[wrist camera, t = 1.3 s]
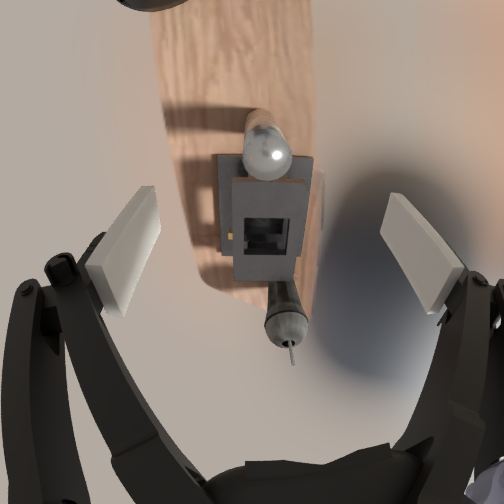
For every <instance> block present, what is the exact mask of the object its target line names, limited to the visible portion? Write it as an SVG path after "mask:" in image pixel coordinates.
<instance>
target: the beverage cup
mask: <svg viewBox="0 0 504 504" xmlns="http://www.w3.org/2000/svg"><path fill="white" fill-rule="evenodd" d="M264 327H265V330H266V333H267V335H268V337H269V339H270V341H271V342H272V343H274V344H275V345H276V346H278V347H281V348H289V351H290V357H291V364H292V366H294V365H295V361H294V355H293V349H292V347H295V346H297V345H298V344H299V343H301V342H302V340H303V339H304V338H305V336H306V333H307V328H308V319H307V317H306V315H305V312H304V310H303V308H302V306H301V302H300V299H299V296H298V292H297V289H296V286H295V282H294V279H293V281H269V287H268V309H267V314H266V321H265V325H264Z"/></svg>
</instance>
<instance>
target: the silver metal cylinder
mask: <svg viewBox="0 0 504 504" xmlns="http://www.w3.org/2000/svg"><path fill="white" fill-rule="evenodd" d="M291 163H292V152H291V149H290V147H289V145H288V143H287V141H286V139H285V138H284V136H283V134H282V132H281V130H280V128H279V127H278V125H277V123H276V121H275V120H274V118H273V116H272V114H271V113H270V112H269V111H267V110H265V109H255V110H253V111H251V112H250V113H249V114H248V115H247V117H246V123H245V134H244V146H243V164H244V167H245V169H246V170H247V172H248V173H249V174H250V175H252V176H253V177H255V178H257V179H259V180H264V181H270V180H275V179H278V178H280V177H282V176H283V175H284V174H285V173H286V172H287V171H288V170H289V168H290V166H291Z"/></svg>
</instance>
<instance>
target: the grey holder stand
mask: <svg viewBox="0 0 504 504" xmlns="http://www.w3.org/2000/svg"><path fill="white" fill-rule="evenodd" d="M313 160H314V159H313V157H305V156H292V163H291V166H290V168H289V170H288V171H287V172H286V173H285V174H284V175H283V176H282V177H280V178H278V179H275V180H270V181H264V180H259V179H257V178H255V177H253V176H252V175H250V174H249V173H248V172H247V170H246V169H245V167H244V164H243V154H218V156H217V163H218V191H219V214H220V234H221V252H222V256H233V268H234V281H293V275H294V268H295V262H296V257H301V251H302V244H303V238H304V231H305V224H306V217H307V209H308V202H309V194H310V186H311V178H312V169H313Z"/></svg>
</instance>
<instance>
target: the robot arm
mask: <svg viewBox="0 0 504 504" xmlns="http://www.w3.org/2000/svg"><path fill="white" fill-rule="evenodd" d="M117 1H118V2H119V3H121V4H122V5H124V6H126V7H129V8H131V9H134V10H138V11H145V12H152V11H161V10H165V9H169V8H172V7H175V6H177V5H180V4H182V3H184V2H186V1H188V0H117ZM160 231H161V224H160V219H159V213H158V207H157V201H156V195H155V188H154V186H141V188H140V189H139V190H138V191H137V193H136V194H135V195H134V196H133V197H132V199H131V200H130V201H129V203H128V204H127V205H126V206H125V208H124V209H123V210H122V212H121V213H120V214H119V216H118V217H117V218H116V220H115V221H114V223H113V224H112V225H111V227H110V228H109V229H108V231H107V232H102V233H100V234H99V235H98V236H96V237H95V238H94V239H93V241H92V242H91V243H90V245H89V247H88V248H87V249H86V251H85V253H84V254H83V255H82V257H81V258H80V259H79V261H78V263H77V264H76V262H75V260H74V257H73V256H72V254H70V253H60V254H58V255H56V256H54V257H52V258H51V259H50V260H49V261H48V262H47V264H46V265H45V268H44V271H45V273H46V275H47V277H48V279H49V281H50V283H51V285H50V286H45V287H41V286H40V284H39V283H38V281H37V280H36V279H29V280H26V281H24V282H23V283H21V284H20V286H19V287H18V288H17V290H16V292H15V296H14V300H13V304H12V309H11V313H10V318H9V324H8V329H7V336H6V342H5V350H4V358H3V369H2V385H1V419H2V420H1V422H2V438H3V448H4V456H5V462H6V469H7V475H8V480H9V486H8V504H91V502H90V497H89V492H88V489H87V485H86V481H85V478H84V475H83V471H82V467H81V463H80V459H79V455H78V451H77V447H76V442H75V437H74V432H73V426H72V421H71V414H70V408H69V400H68V391H67V380H66V366H65V342H66V346H67V349H68V352H69V355H70V359H71V362H72V365H73V367H74V371H75V373H76V376H77V379H78V382H79V384H80V387H81V389H82V392H83V394H84V397H85V399H86V402H87V404H88V406H89V409H90V411H91V413H92V415H93V417H94V420H95V422H96V424H97V426H98V428H99V430H100V432H101V434H102V436H103V438H104V440H105V442H106V444H107V445H108V447H109V449H110V451H111V454H112V458H111V464H112V467H113V469H114V471H115V473H116V475H117V476H118V478H119V480H120V481H121V483H122V484H123V486H124V487H125V489H126V490H127V492H128V493H129V495H130V496H131V498H132V499H133V501H134V502H135V503H136V504H504V279H499V281H498V282H497V284H496V286H491V285H489V283H488V281H487V280H486V279H485V277H484V276H483V275H481V274H480V273H478V272H476V271H469V270H468V268H467V267H466V266H465V264H464V263H463V262H462V260H461V259H460V258H459V257H458V256H457V254H456V253H455V251H454V250H453V249H452V248H451V246H450V245H449V244H448V243H447V242H446V241H445V240H443V239H442V238H441V237H440V235H439V234H438V233H437V232H436V231H435V230H434V228H433V227H432V226H431V225H430V224H429V223H428V222H427V220H426V219H425V218H424V217H423V216H422V215H421V214H420V213H419V212H418V210H417V209H416V208H415V207H414V206H413V205H412V204H411V203H410V202H409V201H408V200H407V199H406V198H405V197H404V196H403V195H402V194H399V193H391V194H390V198H389V202H388V206H387V209H386V213H385V216H384V220H383V223H382V227H381V230H380V234H381V236H382V237H383V239H384V240H385V241H386V243H387V245H388V246H389V248H390V249H391V251H392V252H393V254H394V256H395V258H396V259H397V261H398V263H399V264H400V266H401V268H402V269H403V271H404V273H405V275H406V276H407V278H408V280H409V282H410V283H411V285H412V287H413V289H414V291H415V292H416V294H417V296H418V298H419V300H420V302H421V304H422V306H423V307H424V309H425V311H426V313H427V314H432V313H438V312H439V311H440V309H441V307H442V306H443V304H444V303H445V305H446V307H447V310H446V312H445V313H444V315H443V316H442V318H441V319H440V321H439V322H438V324H437V326H439V325H440V323H442V325H441V330H440V334H439V338H438V342H437V345H436V349H435V353H434V356H433V360H432V363H431V366H430V369H429V372H428V375H427V379H426V381H425V384H424V387H423V390H422V392H421V395H420V398H419V401H418V403H417V405H416V408H415V410H414V413H413V415H412V417H411V420H410V422H409V424H408V426H407V429H406V431H405V432H404V434H403V435H402V437H401V438H400V439H399V440H398V441H397V442H396V444H395V445H394V446H393V448H392V449H391V448H390V444H389V443H386V444H382V445H378V446H374V447H369V448H365V449H361V450H357V451H355V452H353V453H351V454H349V455H346V456H344V457H342V458H339V459H337V460H335V461H333V462H330V463H327V464H324V465H318V464H309V463H301V462H293V461H286V460H277V461H245V466H240V467H236V468H233V469H229V470H227V471H225V472H222V473H220V474H218V475H216V476H215V477H213V478H211V479H210V480H209V481H207V480H206V479H205V478H204V477H203V476H202V475H201V474H200V472H199V471H198V470H197V469H196V468H195V467H194V466H193V464H192V463H191V462H190V461H189V460H188V459H187V458H186V456H185V455H184V454H183V453H182V452H181V451H180V449H179V448H178V447H177V445H176V444H175V443H174V441H173V440H172V439H171V437H170V436H169V435H168V433H167V432H166V430H165V429H164V427H163V426H162V425H161V423H160V422H159V420H158V419H157V417H156V416H155V414H154V413H153V411H152V410H151V408H150V407H149V405H148V403H147V402H146V400H145V398H144V397H143V395H142V394H141V392H140V390H139V389H138V387H137V385H136V383H135V382H134V380H133V378H132V376H131V375H130V373H129V371H128V369H127V367H126V366H125V364H124V362H123V360H122V358H121V356H120V354H119V352H118V350H117V348H116V346H115V344H114V342H113V340H112V338H111V336H110V334H109V332H108V330H107V327H106V325H105V323H104V321H103V318H102V317H101V315H100V313H101V311H102V309H103V307H104V309H105V311H106V313H107V315H108V316H113V317H122V318H124V316H125V313H126V310H127V308H128V305H129V303H130V300H131V297H132V295H133V292H134V290H135V288H136V285H137V283H138V280H139V278H140V275H141V273H142V271H143V269H144V266H145V264H146V262H147V259H148V257H149V255H150V253H151V250H152V248H153V246H154V244H155V242H156V239H157V237H158V235H159V233H160ZM500 318H501V325H500V326H499V327H498V328H497V329H496V324H497V322H498V321H499V319H500ZM478 416H479V417H478ZM473 468H474V483H471V484H470V485H469V486H468V487H467V485H468V482H469V479H470V477H471V474H472V471H473ZM466 487H467V489H466ZM465 489H466V495H464V492H465ZM470 498H471V499H470Z"/></svg>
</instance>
